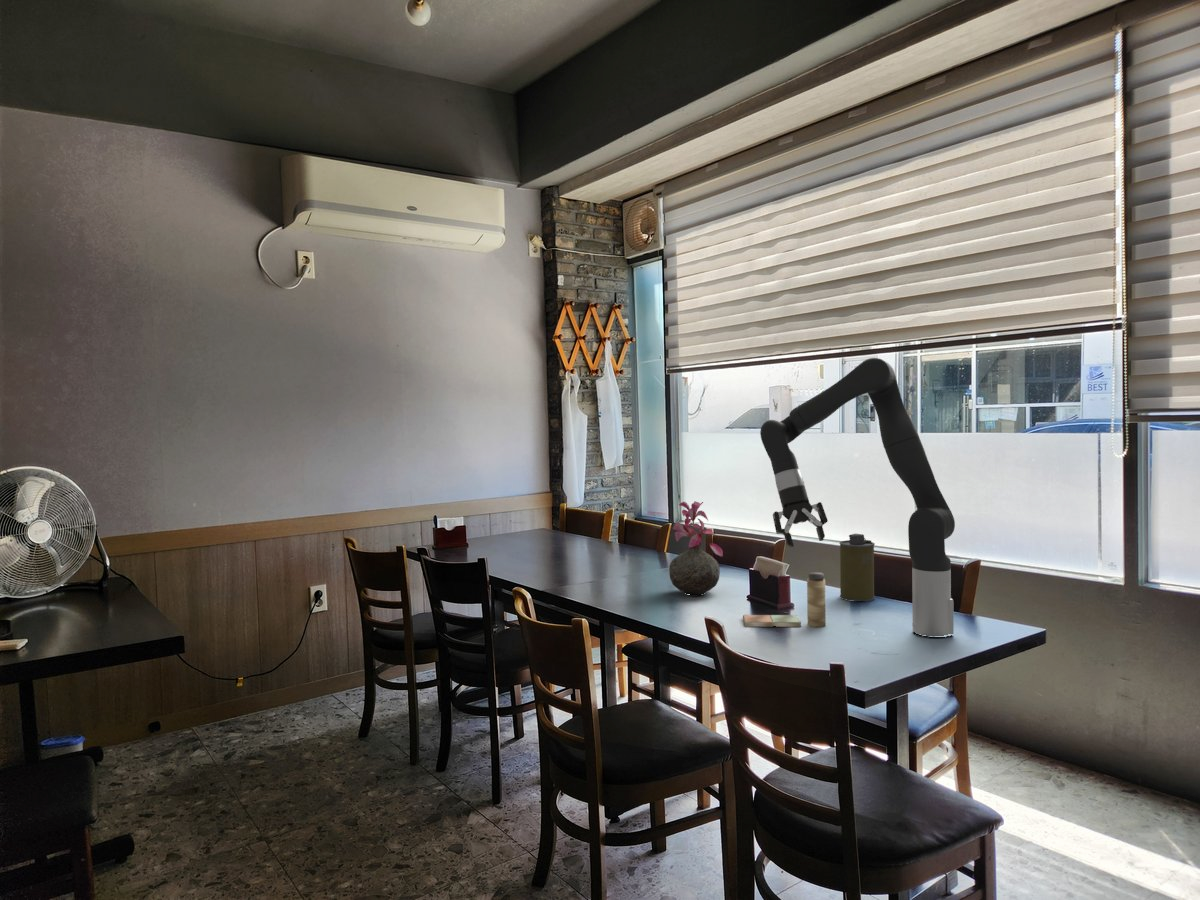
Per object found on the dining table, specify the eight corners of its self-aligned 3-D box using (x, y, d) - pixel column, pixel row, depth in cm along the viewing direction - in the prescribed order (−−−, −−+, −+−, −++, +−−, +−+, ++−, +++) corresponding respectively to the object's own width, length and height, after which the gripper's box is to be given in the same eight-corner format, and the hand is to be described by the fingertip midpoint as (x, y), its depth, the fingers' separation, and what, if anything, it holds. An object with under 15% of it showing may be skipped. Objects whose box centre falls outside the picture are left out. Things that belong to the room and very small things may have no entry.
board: (796, 619, 223) (796, 614, 223) (800, 626, 215) (800, 622, 215) (742, 618, 224) (742, 614, 224) (745, 626, 216) (745, 622, 216)
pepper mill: (823, 622, 219) (823, 571, 218) (827, 627, 214) (826, 575, 213) (806, 622, 219) (805, 571, 218) (809, 627, 214) (808, 575, 214)
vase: (671, 587, 266) (670, 499, 265) (724, 588, 263) (722, 499, 262) (667, 599, 250) (665, 505, 248) (723, 600, 247) (721, 505, 245)
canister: (860, 603, 239) (859, 538, 238) (832, 597, 248) (832, 534, 247) (882, 598, 245) (882, 534, 244) (855, 592, 254) (855, 530, 253)
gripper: (812, 485, 226) (828, 540, 222) (764, 495, 226) (779, 551, 222) (818, 479, 219) (835, 536, 215) (768, 490, 219) (784, 547, 214)
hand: (806, 543), depth 218 cm, fingers open, 8 cm apart
